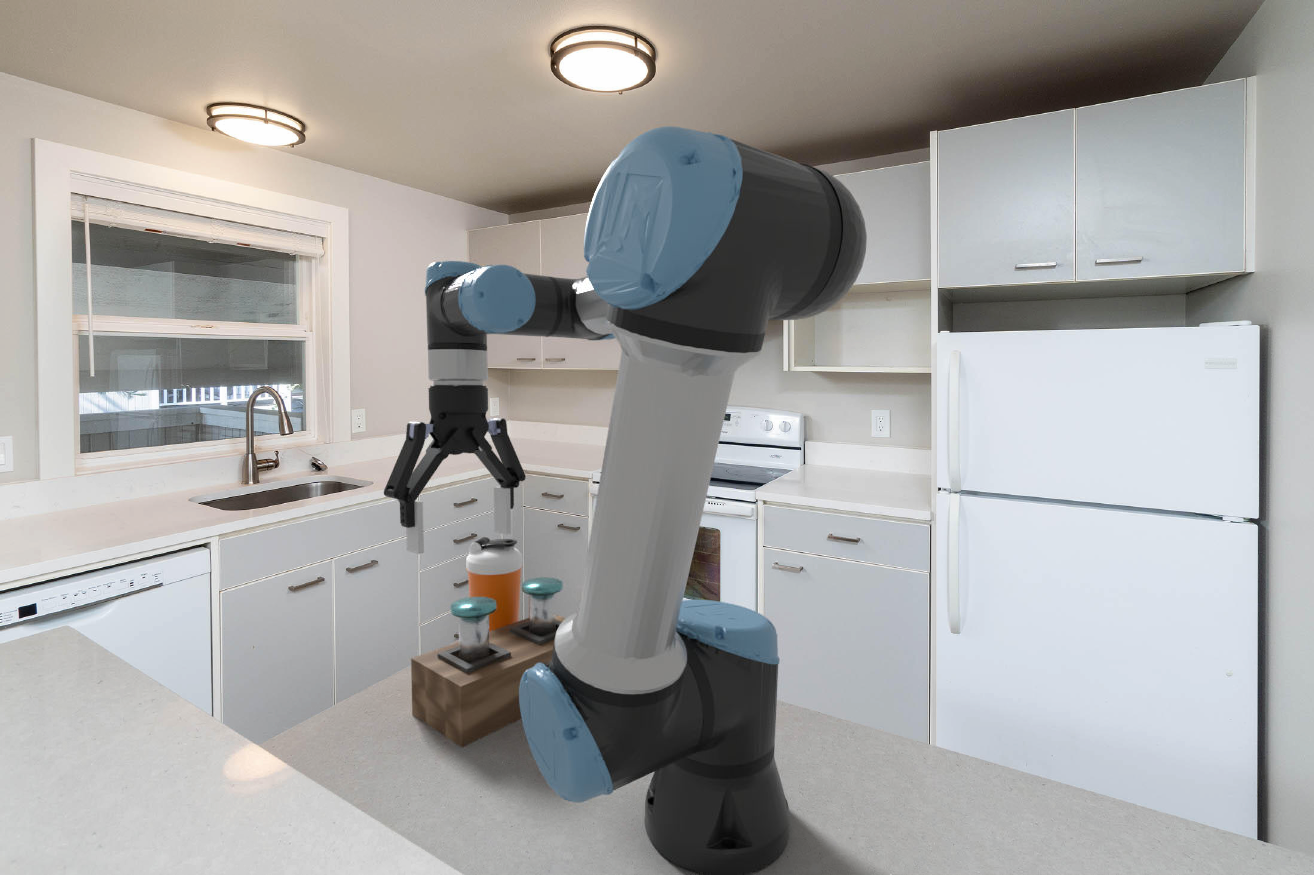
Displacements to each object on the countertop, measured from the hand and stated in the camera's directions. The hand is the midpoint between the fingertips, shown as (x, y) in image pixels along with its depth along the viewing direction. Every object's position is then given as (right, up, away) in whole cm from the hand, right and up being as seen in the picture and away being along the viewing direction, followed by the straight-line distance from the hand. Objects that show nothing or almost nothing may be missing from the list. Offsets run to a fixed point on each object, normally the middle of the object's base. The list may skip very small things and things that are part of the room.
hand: (461, 541), depth 87 cm
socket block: (+5, -24, +7) cm, 25 cm away
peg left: (+1, -18, +2) cm, 18 cm away
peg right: (+9, -17, +11) cm, 23 cm away
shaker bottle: (0, -23, +20) cm, 30 cm away
